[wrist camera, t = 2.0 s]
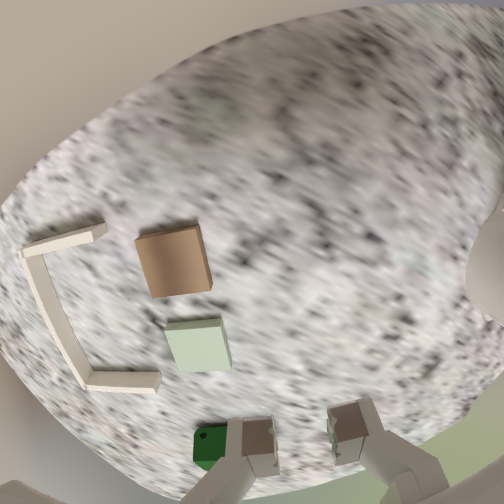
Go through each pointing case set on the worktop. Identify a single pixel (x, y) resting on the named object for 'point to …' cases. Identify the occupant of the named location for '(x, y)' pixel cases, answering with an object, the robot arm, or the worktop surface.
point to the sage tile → (199, 345)
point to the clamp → (209, 446)
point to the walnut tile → (174, 261)
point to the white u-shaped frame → (61, 326)
